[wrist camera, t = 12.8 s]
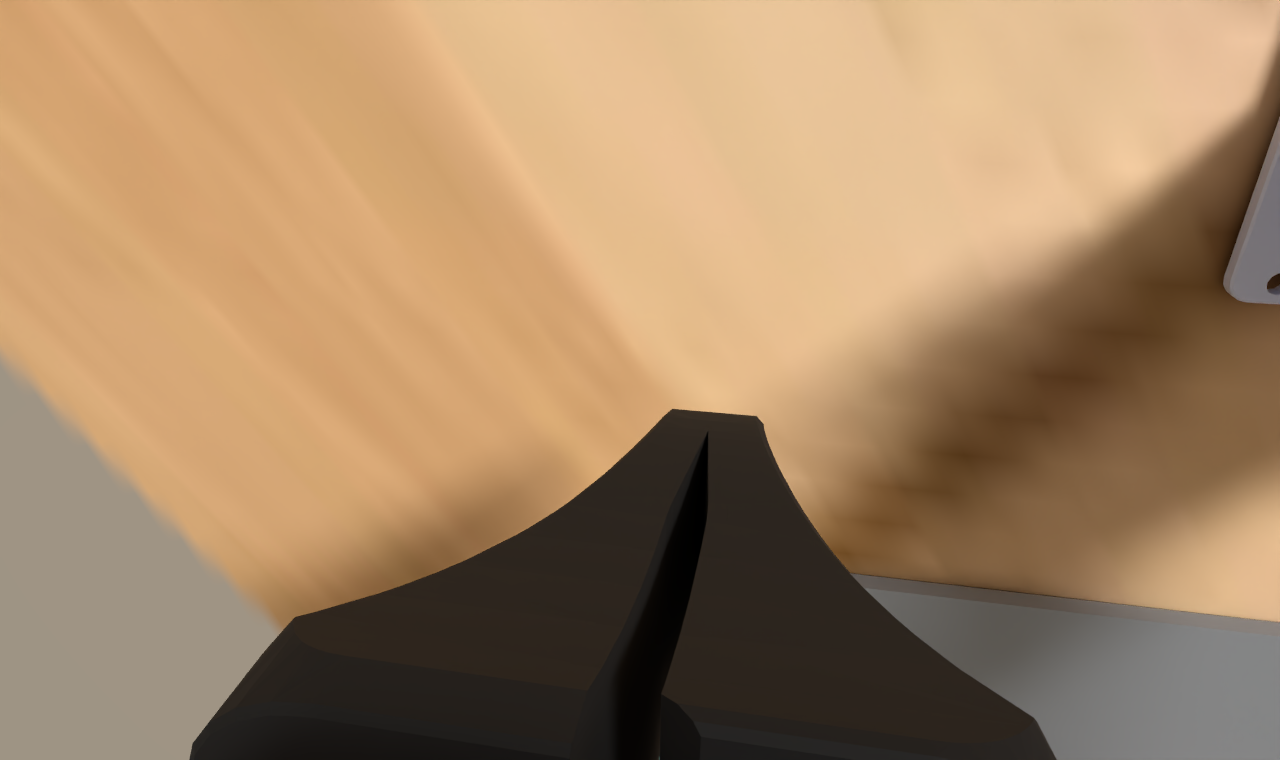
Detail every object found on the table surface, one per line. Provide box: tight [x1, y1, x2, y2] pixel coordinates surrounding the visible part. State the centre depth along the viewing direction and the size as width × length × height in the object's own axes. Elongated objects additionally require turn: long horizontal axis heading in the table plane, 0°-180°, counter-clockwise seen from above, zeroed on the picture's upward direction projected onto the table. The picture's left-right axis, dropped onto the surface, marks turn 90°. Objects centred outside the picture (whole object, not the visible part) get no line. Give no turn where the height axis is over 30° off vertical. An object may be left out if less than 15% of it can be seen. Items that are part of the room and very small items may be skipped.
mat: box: [850, 573, 1280, 760], centre depth 26 cm, size 22×13×1 cm, turn 90°
